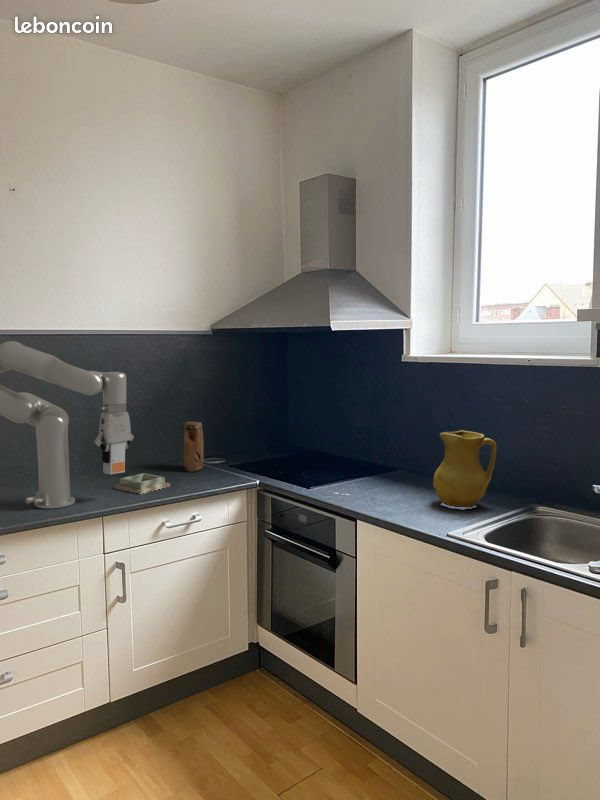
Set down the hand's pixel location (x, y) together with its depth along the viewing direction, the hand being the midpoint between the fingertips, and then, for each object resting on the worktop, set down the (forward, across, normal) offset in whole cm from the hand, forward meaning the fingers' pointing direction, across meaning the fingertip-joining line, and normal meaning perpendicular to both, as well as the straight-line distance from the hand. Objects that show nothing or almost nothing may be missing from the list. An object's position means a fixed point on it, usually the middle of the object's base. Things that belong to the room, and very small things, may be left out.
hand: (114, 460), depth 213 cm
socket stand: (+13, +17, +5) cm, 22 cm away
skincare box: (+4, 0, 0) cm, 4 cm away
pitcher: (+10, +64, -99) cm, 118 cm away
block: (+13, +50, +12) cm, 53 cm away
